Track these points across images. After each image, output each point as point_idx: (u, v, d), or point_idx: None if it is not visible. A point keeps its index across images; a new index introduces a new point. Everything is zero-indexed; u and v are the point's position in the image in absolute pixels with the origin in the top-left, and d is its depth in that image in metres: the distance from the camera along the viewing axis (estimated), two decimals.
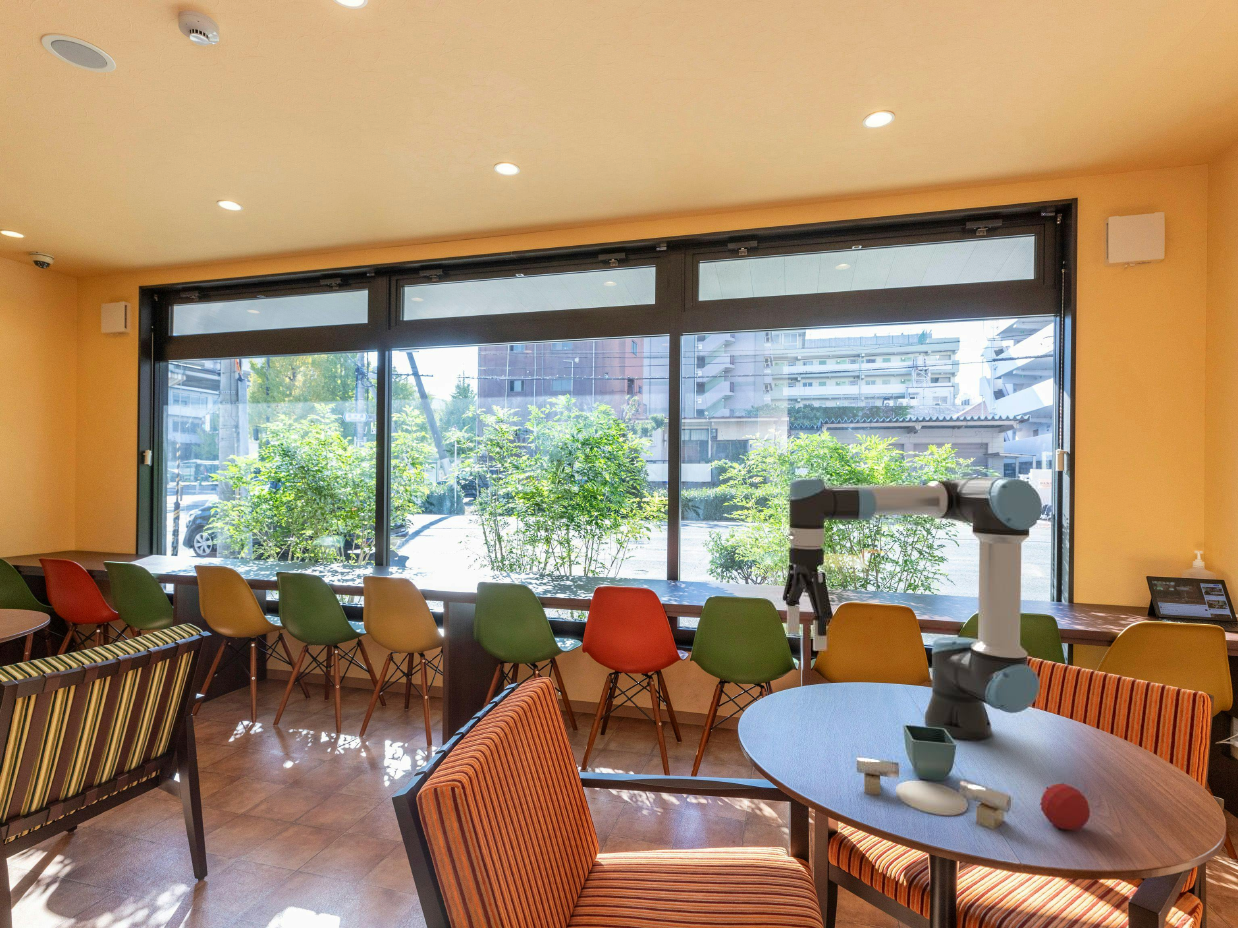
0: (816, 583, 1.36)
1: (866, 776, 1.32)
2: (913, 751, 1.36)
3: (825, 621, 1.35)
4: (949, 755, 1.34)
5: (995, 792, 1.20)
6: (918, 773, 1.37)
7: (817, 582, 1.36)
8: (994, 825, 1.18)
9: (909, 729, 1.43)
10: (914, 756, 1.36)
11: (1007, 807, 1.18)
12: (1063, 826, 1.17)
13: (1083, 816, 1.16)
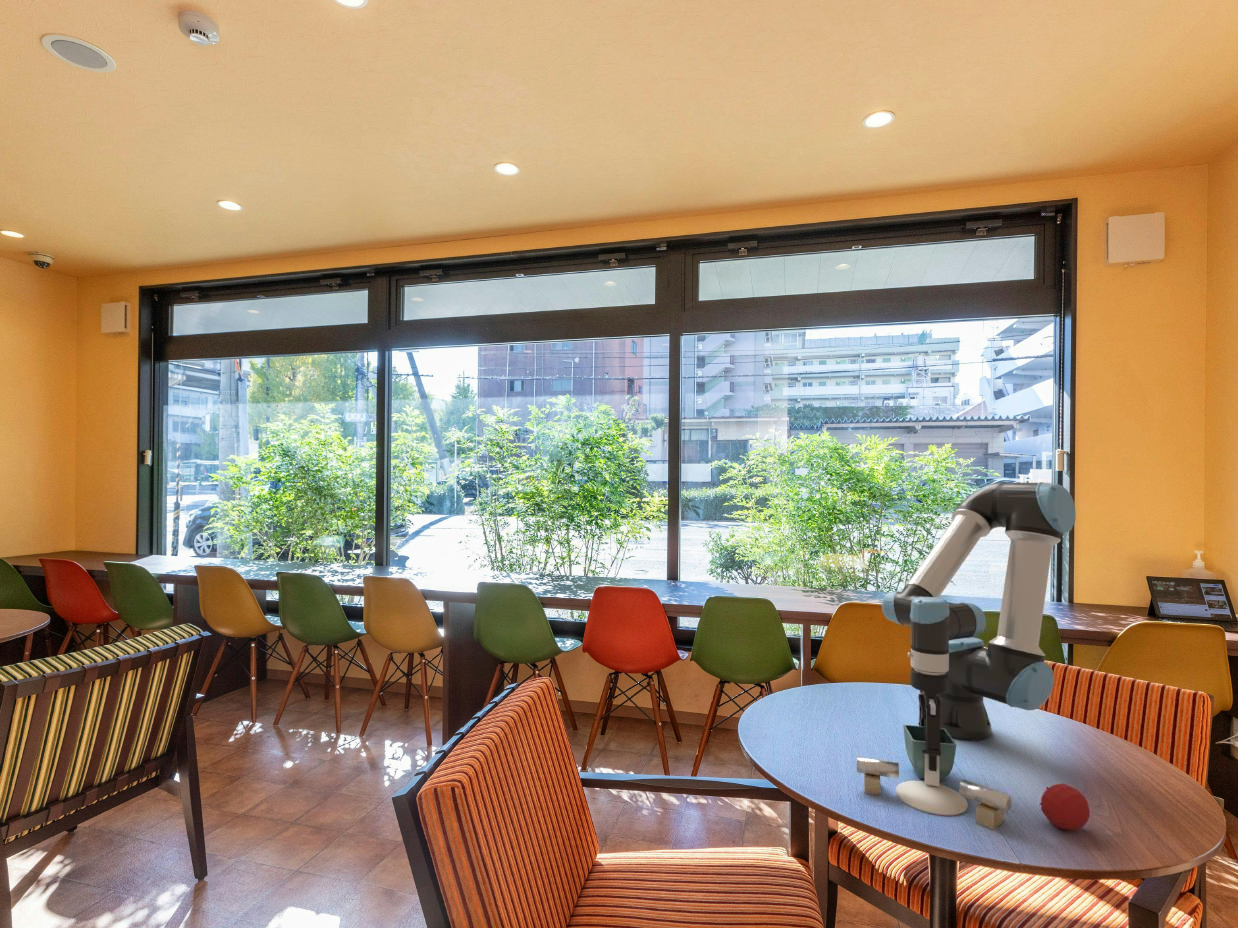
0: (927, 715, 1.33)
1: (866, 776, 1.32)
2: (913, 751, 1.36)
3: (935, 756, 1.32)
4: (949, 755, 1.34)
5: (995, 792, 1.20)
6: (918, 773, 1.36)
7: (929, 714, 1.33)
8: (994, 825, 1.18)
9: (909, 729, 1.43)
10: (914, 756, 1.36)
11: (1007, 807, 1.18)
12: (1063, 826, 1.17)
13: (1083, 816, 1.16)
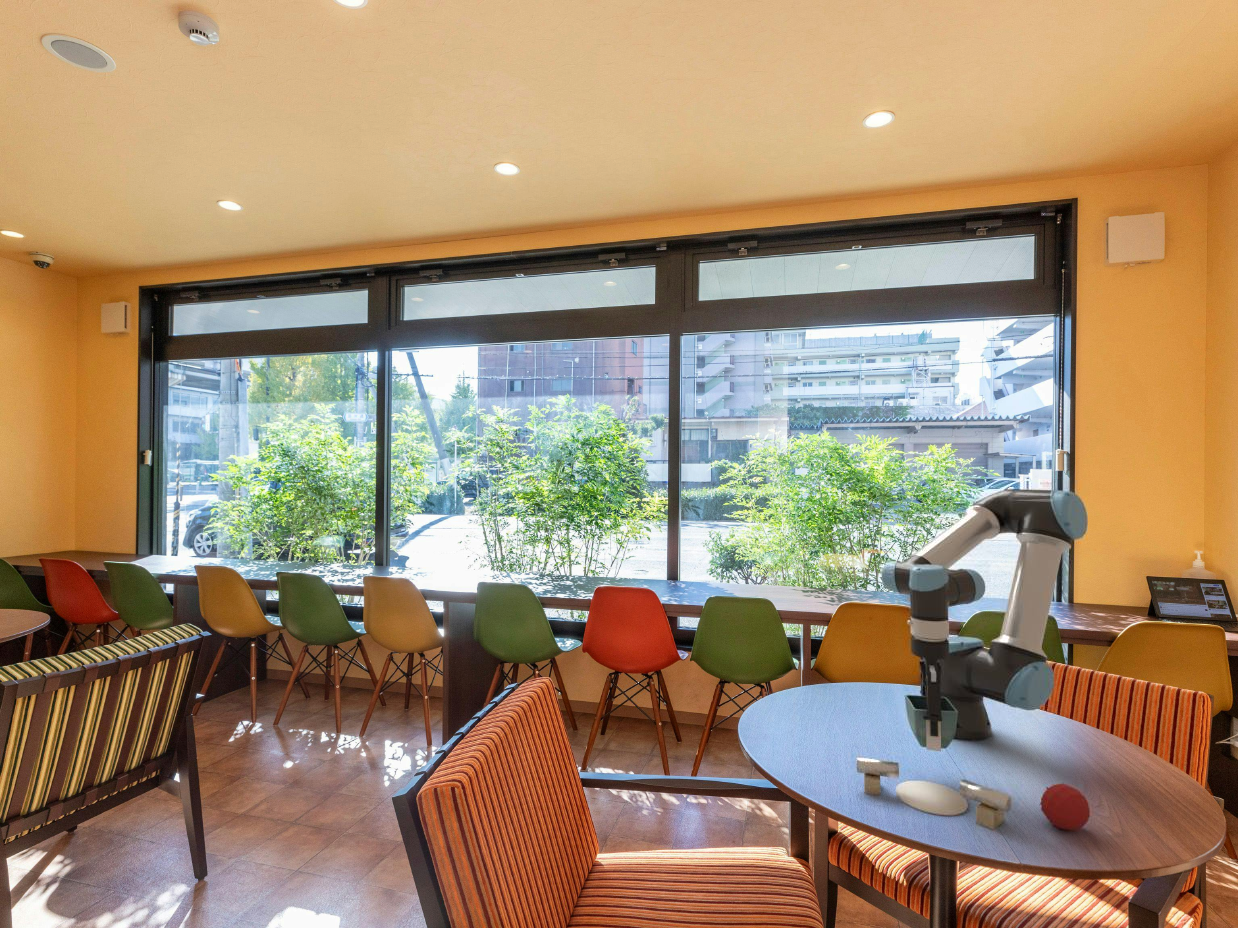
0: (928, 682, 1.33)
1: (866, 776, 1.32)
2: (915, 720, 1.36)
3: (936, 722, 1.33)
4: (951, 723, 1.35)
5: (995, 792, 1.20)
6: (920, 742, 1.37)
7: (929, 681, 1.33)
8: (994, 825, 1.18)
9: (910, 699, 1.44)
10: (916, 725, 1.36)
11: (1007, 807, 1.18)
12: (1063, 826, 1.17)
13: (1083, 816, 1.16)
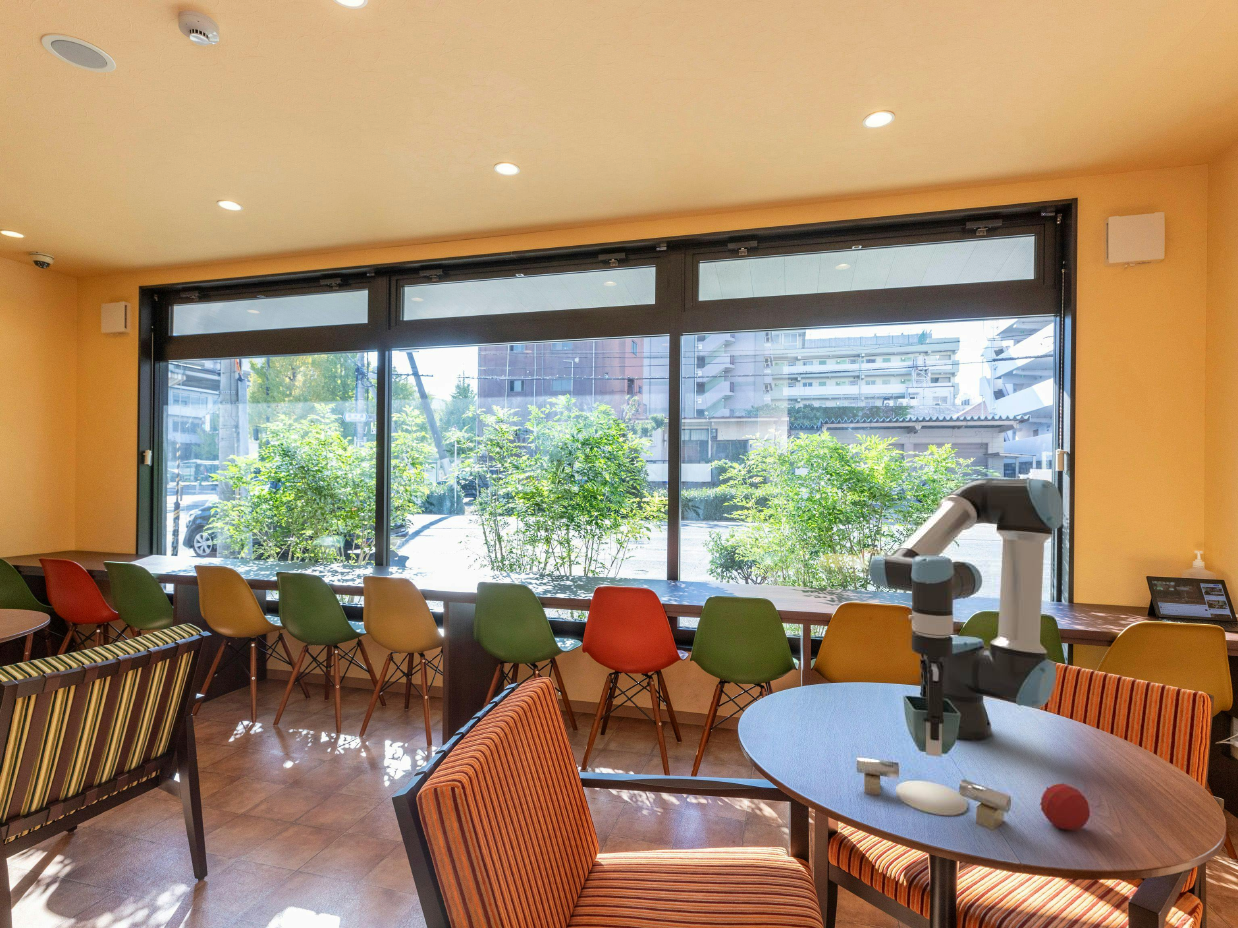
0: (929, 681, 1.23)
1: (866, 776, 1.32)
2: (914, 722, 1.26)
3: (937, 725, 1.23)
4: (953, 726, 1.24)
5: (995, 792, 1.20)
6: (919, 746, 1.27)
7: (931, 680, 1.23)
8: (994, 825, 1.18)
9: (909, 700, 1.34)
10: (915, 727, 1.26)
11: (1007, 807, 1.18)
12: (1063, 826, 1.17)
13: (1083, 816, 1.16)
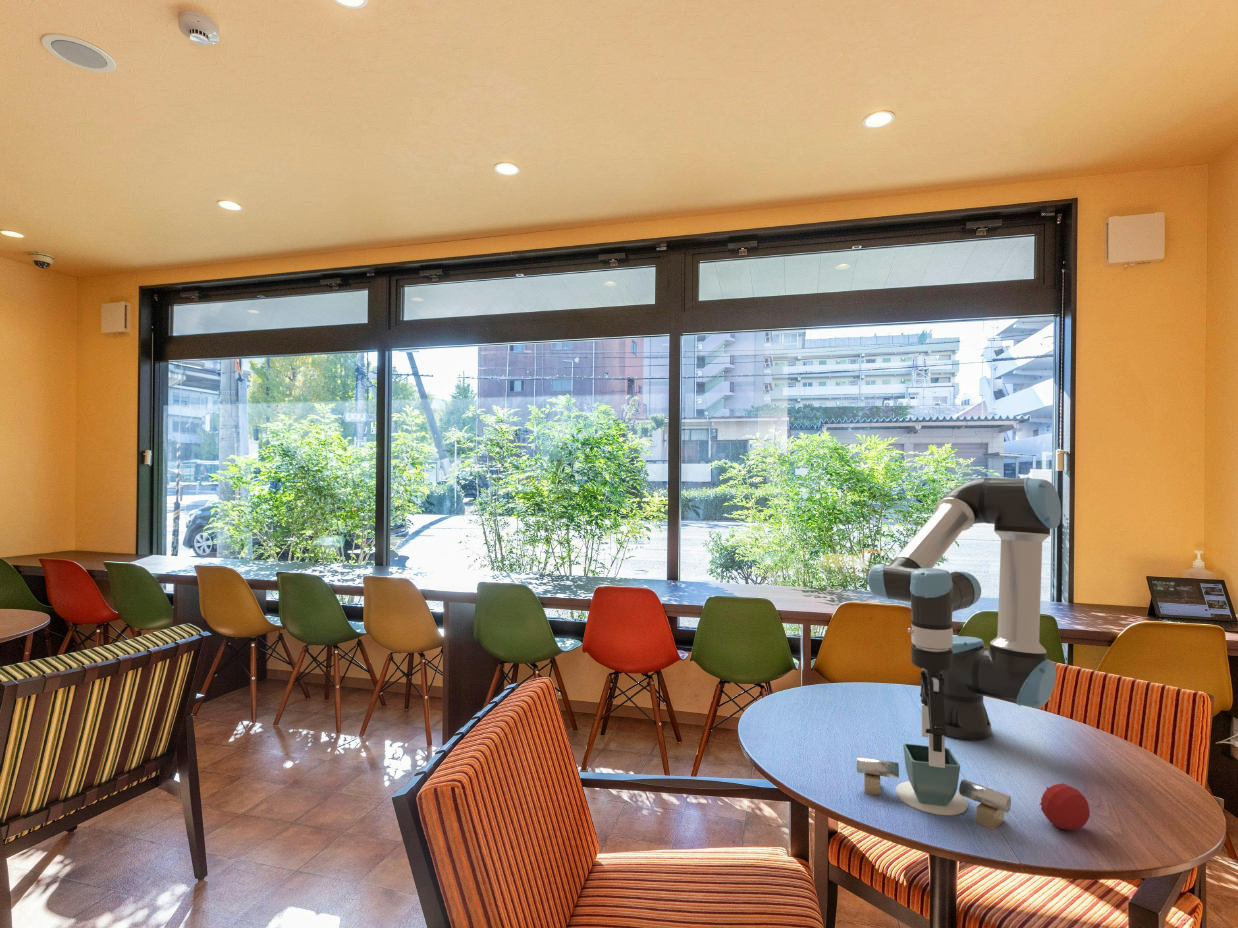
0: (930, 692, 1.23)
1: (866, 776, 1.32)
2: (913, 773, 1.25)
3: (940, 736, 1.21)
4: (952, 778, 1.23)
5: (995, 792, 1.20)
6: (919, 797, 1.25)
7: (932, 691, 1.23)
8: (994, 825, 1.18)
9: (910, 748, 1.32)
10: (914, 778, 1.25)
11: (1007, 807, 1.18)
12: (1063, 826, 1.17)
13: (1083, 816, 1.16)
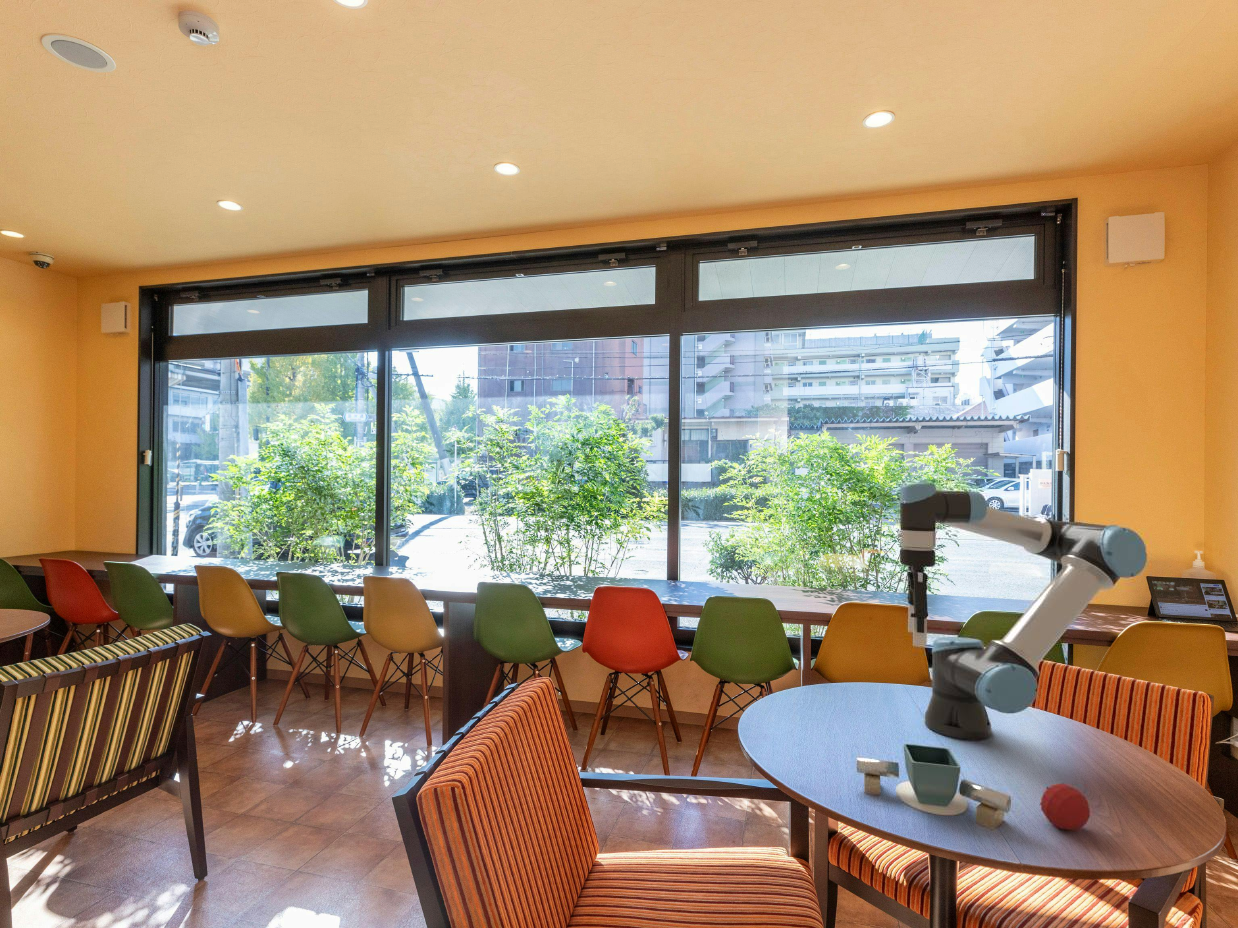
0: (915, 582, 1.44)
1: (866, 776, 1.32)
2: (913, 773, 1.25)
3: (922, 619, 1.42)
4: (952, 778, 1.23)
5: (995, 792, 1.20)
6: (919, 797, 1.25)
7: (916, 581, 1.44)
8: (994, 825, 1.18)
9: (910, 748, 1.32)
10: (914, 779, 1.25)
11: (1007, 807, 1.18)
12: (1063, 826, 1.17)
13: (1083, 816, 1.16)
